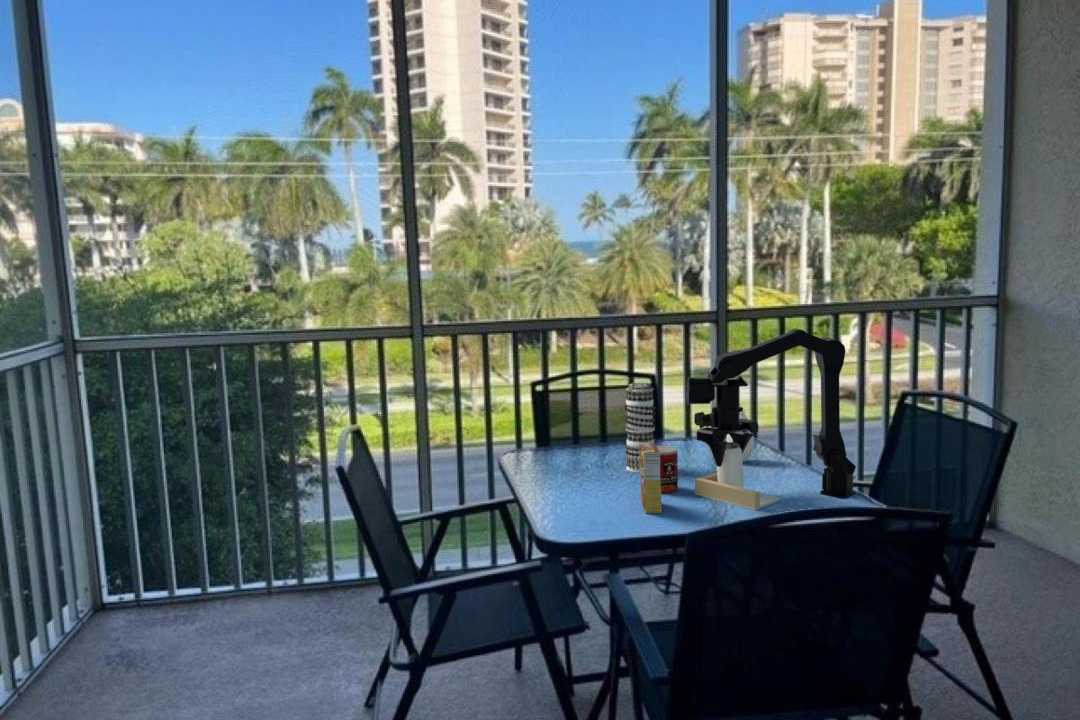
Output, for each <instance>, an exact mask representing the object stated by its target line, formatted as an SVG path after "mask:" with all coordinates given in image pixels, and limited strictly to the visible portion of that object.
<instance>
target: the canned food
mask: <svg viewBox="0 0 1080 720" xmlns="http://www.w3.org/2000/svg"><path fill="white" fill-rule="evenodd" d="M656 447H657V448H658V450H659V451H660V466H661V494H673V493H674V492H676V491H677V490H678V487H679V486H678V483H679V482H678V479H679V477H678V476H679V474H678V471H679V468H678V467H679V466H678V464H679V463H678V460H679V458H678V454H679V453H678V448H677V447H675V446H672V445H661V444H660V445H656ZM672 492H673V493H672Z"/></svg>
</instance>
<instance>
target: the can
mask: <svg viewBox="0 0 1080 720" xmlns="http://www.w3.org/2000/svg"><path fill="white" fill-rule="evenodd" d="M726 442H727V441H726ZM743 463H744V462H742V450H741V449H740V445H739V444H738V443H733V442H727V446H726V450H725V454H724V458H723V462H722V465H721V467H719V466H717V465H716V473H717V478H718V482H720V483H724V484H728V485H732V486H736V487H740V488H745V487H744V486H745V484H744V483H745V482H744V467H743V465H744V464H743Z"/></svg>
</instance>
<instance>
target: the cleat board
mask: <svg viewBox="0 0 1080 720" xmlns="http://www.w3.org/2000/svg"><path fill="white" fill-rule="evenodd" d="M694 495H695V496H698V495H699V496H698V497H701V496H702V498H705V497H706V498H707V499H709V498H710V500H713V501H717V502H720V503H725V504H729V505H732V506H737V507H740V508H744V509H748V510H752V511H758V510H760V509H762V508H765V507H768V506H770V505H772V504H775V503H776V504H777V503H778V502H781V501H782V500H781V499H782V498H781V497H777V496H773V495H769V494H764V493H761V492H760V491H756V490H754V489H753V490H752V489H750V488H749V489H748V488H745V487H744V488H740V487H736V486H732V485H728V484H724V483H720V482H718V478H717V472H714V473H711V474H707V475H705V476H702V477H698V478H695V479H694Z"/></svg>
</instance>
